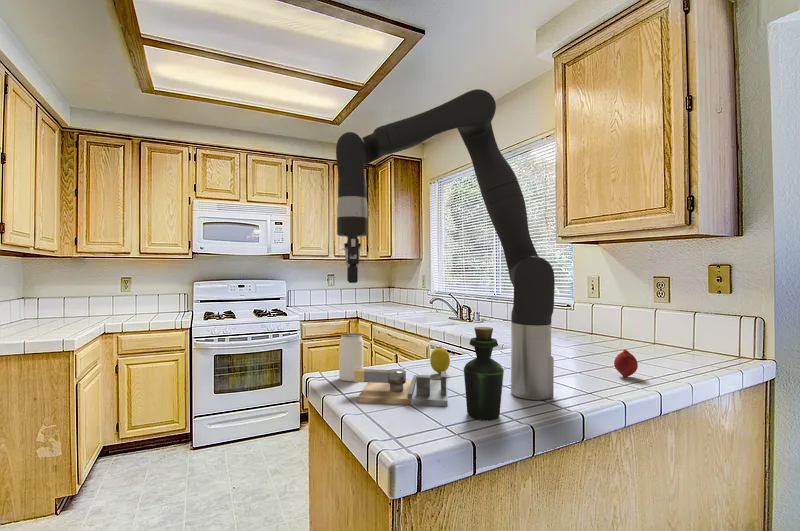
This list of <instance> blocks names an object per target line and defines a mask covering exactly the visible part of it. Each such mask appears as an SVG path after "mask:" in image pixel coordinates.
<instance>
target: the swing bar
mask: <svg viewBox="0 0 800 531" xmlns="http://www.w3.org/2000/svg"><path fill="white" fill-rule="evenodd" d="M406 379H407V370H405V369H400V368H399V369H397V368H396V369H395V368H394V369H393V368H392V369H373V368H371V369H369V368H368V369H367V368H363V369H356V370H355V371H354V383H368V382H372V383H389V384H394V385H400V384H404V383H406Z"/></svg>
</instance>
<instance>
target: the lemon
mask: <svg viewBox="0 0 800 531" xmlns="http://www.w3.org/2000/svg"><path fill="white" fill-rule="evenodd" d="M429 363H430V365H431V366H430V367H431V368H432V370H433V371H435V372H436V374H438V375H441V371H446V372H447V370H448V369H449V367H450V363H451V358H450V354H449V352H448V350H446V348H443V347H442V346H441V345H440V346H438V347H436V348H434V349H433V351H432V352H431V354H430V361H429Z"/></svg>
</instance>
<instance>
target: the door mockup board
mask: <svg viewBox="0 0 800 531" xmlns="http://www.w3.org/2000/svg"><path fill="white" fill-rule="evenodd" d="M357 402H358V403H363V404H364V403H368V404H369V403H371V404H389V405H390V404H393V405H394V404H395V405H413V406H437V407H440V406H441V407H448V380H447V370H446V371H441V374H440V380H435V379H433V380H432V379H431V375H429V374H428V375H427V374H414V375H413V376H412V379H407V378H406V383H404V384H400V385H394V384H389V383H372V382H366V385H365V386H364V387H363V389H362V390H361V392H360V394H359V395H358V396H357Z"/></svg>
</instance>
